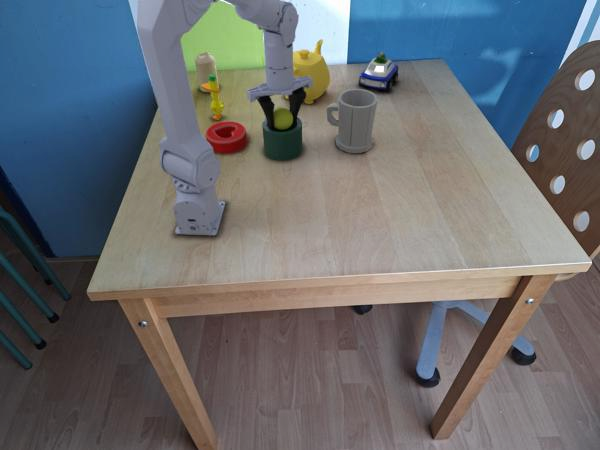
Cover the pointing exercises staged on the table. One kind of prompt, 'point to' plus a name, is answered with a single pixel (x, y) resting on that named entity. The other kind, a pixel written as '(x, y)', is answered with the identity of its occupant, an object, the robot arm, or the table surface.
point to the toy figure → (214, 96)
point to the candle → (205, 68)
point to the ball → (282, 118)
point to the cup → (354, 119)
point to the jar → (283, 141)
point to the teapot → (312, 71)
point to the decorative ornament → (226, 129)
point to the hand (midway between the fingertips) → (282, 123)
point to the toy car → (379, 73)
